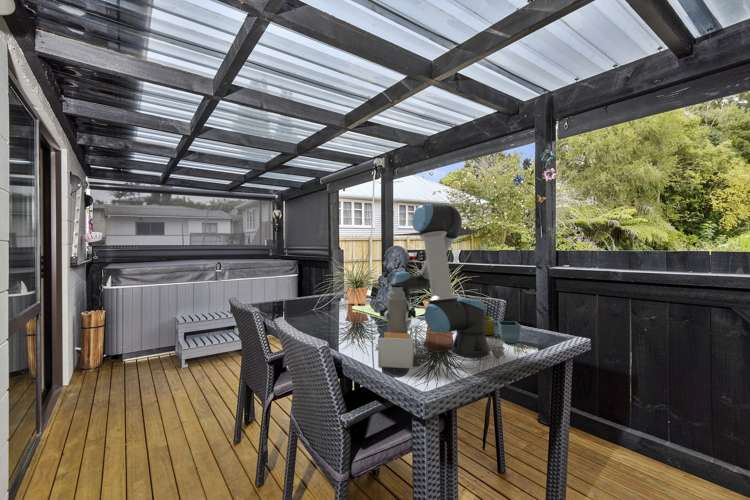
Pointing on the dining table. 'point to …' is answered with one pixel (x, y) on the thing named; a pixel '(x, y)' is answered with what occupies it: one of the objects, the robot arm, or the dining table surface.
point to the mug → (489, 326)
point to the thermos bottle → (397, 309)
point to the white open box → (395, 352)
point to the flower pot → (509, 331)
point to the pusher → (397, 335)
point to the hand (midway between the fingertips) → (395, 317)
